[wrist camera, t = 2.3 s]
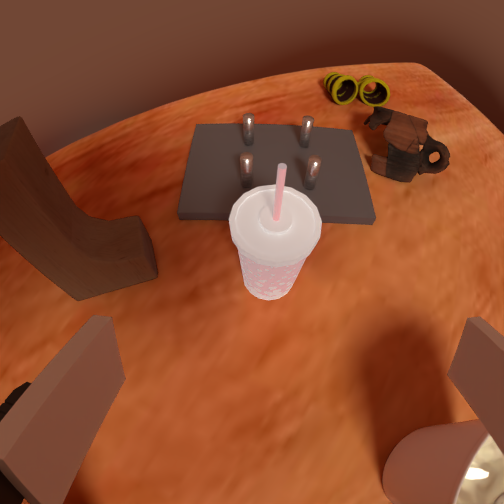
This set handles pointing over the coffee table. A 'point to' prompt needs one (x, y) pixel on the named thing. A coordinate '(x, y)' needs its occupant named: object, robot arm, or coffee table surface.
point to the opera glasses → (356, 89)
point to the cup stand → (275, 169)
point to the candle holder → (446, 466)
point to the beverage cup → (273, 236)
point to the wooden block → (65, 225)
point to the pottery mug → (405, 146)
